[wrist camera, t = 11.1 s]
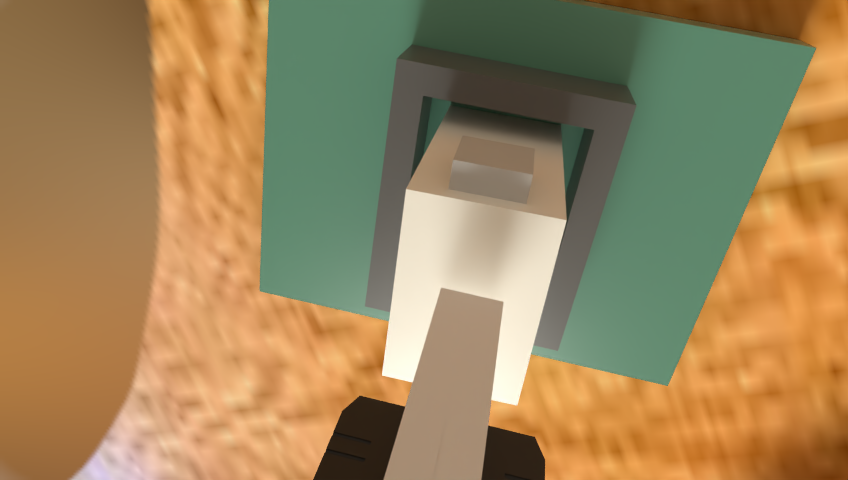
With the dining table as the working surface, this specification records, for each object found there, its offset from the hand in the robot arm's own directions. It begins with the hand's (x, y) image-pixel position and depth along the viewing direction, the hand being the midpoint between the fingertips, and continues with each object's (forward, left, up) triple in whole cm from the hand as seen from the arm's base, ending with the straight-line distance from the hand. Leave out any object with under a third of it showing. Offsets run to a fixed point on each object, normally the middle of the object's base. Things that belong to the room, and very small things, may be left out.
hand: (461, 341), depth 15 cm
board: (0, 0, -11) cm, 11 cm away
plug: (0, 0, -10) cm, 10 cm away
